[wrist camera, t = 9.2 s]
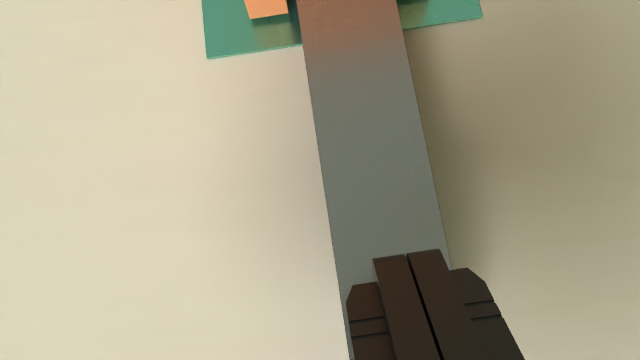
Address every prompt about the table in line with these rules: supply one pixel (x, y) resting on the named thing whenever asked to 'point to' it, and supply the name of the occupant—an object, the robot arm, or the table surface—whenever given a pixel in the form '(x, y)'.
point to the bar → (357, 117)
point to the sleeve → (265, 8)
